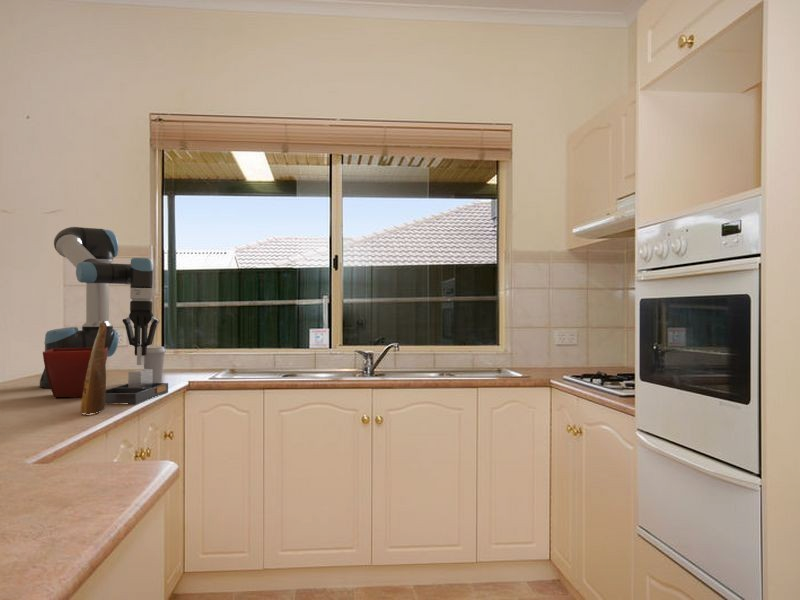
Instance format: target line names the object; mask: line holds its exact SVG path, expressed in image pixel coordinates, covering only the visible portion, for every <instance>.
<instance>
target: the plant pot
mask: <svg viewBox="0 0 800 600" xmlns="http://www.w3.org/2000/svg"><path fill="white" fill-rule="evenodd" d="M104 351H105V366H106V364H107V359H108V357H107V354H108V347H104ZM91 352H92V348H59V349H50V350H47V351H45V350H44V351H42V358H43V363H44V368H45V370H46V374H47V378H48V381H49V384H50V388H49V389H51V393H52V396H53V398H54V397H71V398H82V395H83V389H84V383H85V378H86V373H87V369H88V364H89V360H90V357H91Z"/></svg>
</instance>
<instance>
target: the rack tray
mask: <svg viewBox="0 0 800 600" xmlns="http://www.w3.org/2000/svg"><path fill="white" fill-rule="evenodd" d="M167 393H169V382H161V383H152V388H128V382H127V383H123V384H121V385H118V386H117V385H116V386H113V387H110V388H106V397H105V403H128V404H127V405H138V404H140V403H139V402H141V403H143V402H146V401H148V400H147V399H149V400H151V399H150V398H152V397H154V398H156V397H155V396H157V397H159V396H158V395H160V396H162V395H165V394H167ZM152 399H153V398H152ZM145 400H146V401H145ZM142 401H143V402H142ZM137 403H138V404H137Z"/></svg>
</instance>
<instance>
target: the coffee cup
mask: <svg viewBox="0 0 800 600" xmlns="http://www.w3.org/2000/svg"><path fill="white" fill-rule="evenodd" d="M165 354H166V349H165V347H164V346H160V345H159V346H157V345H156V346H151V345H150V346H147V354H146V355H145V356H144V364H143V369H153V381H152V383H163V372H164V371H163V370H164V364H165V363H164V361H165Z"/></svg>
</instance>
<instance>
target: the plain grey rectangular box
mask: <svg viewBox="0 0 800 600" xmlns="http://www.w3.org/2000/svg"><path fill="white" fill-rule="evenodd" d="M127 374H128V375H127V378H128V379H127V380H128V382H127V383H128V388H152V381H153V369H144V368H139V369H135V370H131V371H130V370H129V371H128V373H127Z"/></svg>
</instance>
